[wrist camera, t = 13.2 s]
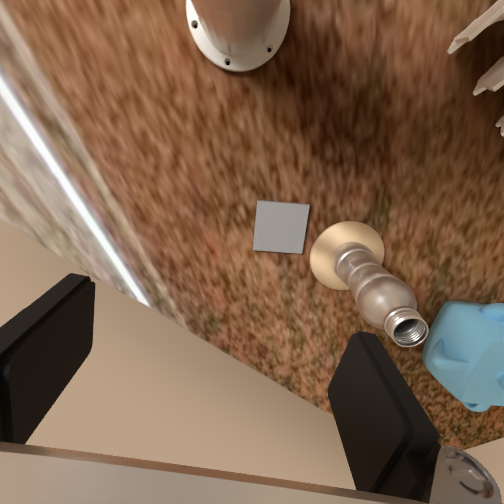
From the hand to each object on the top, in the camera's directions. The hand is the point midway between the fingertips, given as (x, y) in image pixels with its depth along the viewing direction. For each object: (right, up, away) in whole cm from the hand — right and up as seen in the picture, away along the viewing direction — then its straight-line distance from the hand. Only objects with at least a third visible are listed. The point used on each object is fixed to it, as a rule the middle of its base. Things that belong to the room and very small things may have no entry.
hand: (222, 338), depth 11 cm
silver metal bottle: (+17, +2, +37) cm, 41 cm away
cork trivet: (+17, +2, +38) cm, 42 cm away
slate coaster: (+6, +7, +36) cm, 37 cm away
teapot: (+39, -10, +43) cm, 59 cm away
